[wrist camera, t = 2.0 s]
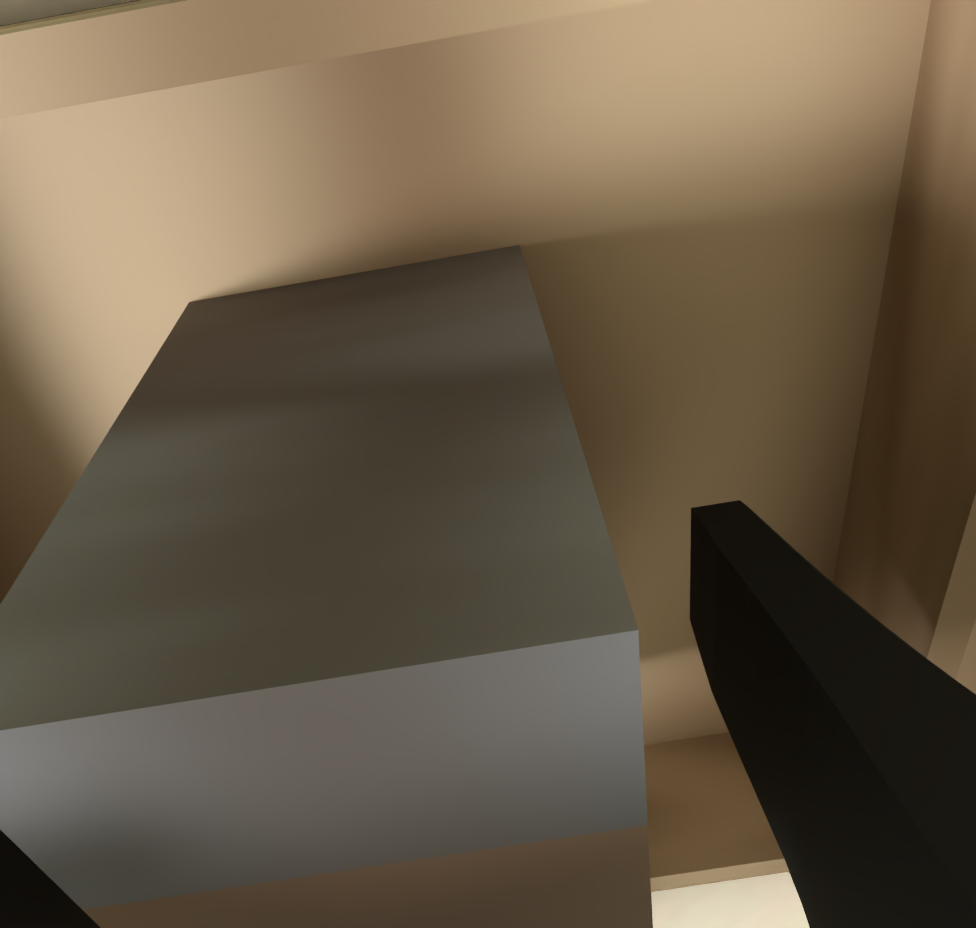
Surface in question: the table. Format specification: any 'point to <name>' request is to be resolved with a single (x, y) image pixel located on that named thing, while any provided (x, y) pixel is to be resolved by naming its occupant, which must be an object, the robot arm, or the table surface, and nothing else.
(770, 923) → the table surface
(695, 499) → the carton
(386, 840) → the brown rectangular block
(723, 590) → the robot arm
